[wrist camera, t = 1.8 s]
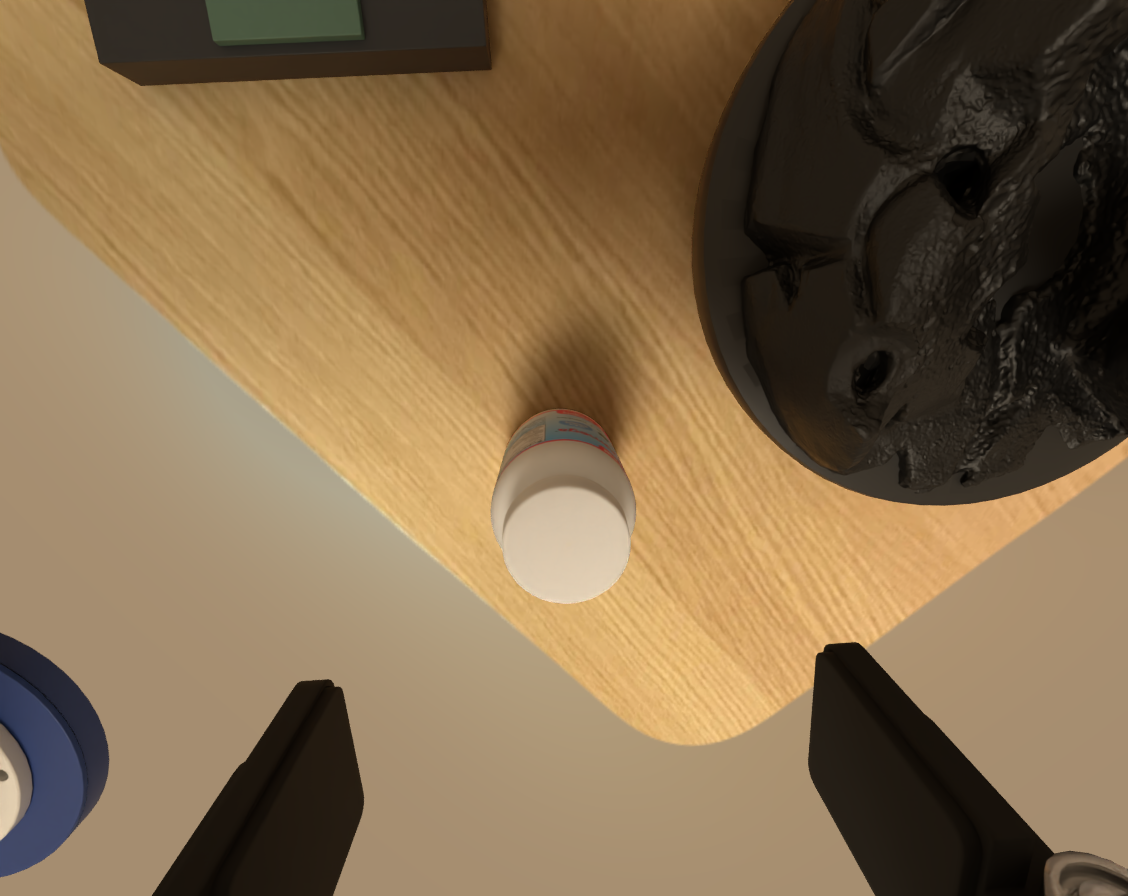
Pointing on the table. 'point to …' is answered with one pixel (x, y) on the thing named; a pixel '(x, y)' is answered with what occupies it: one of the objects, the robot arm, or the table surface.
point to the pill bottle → (563, 508)
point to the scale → (286, 38)
